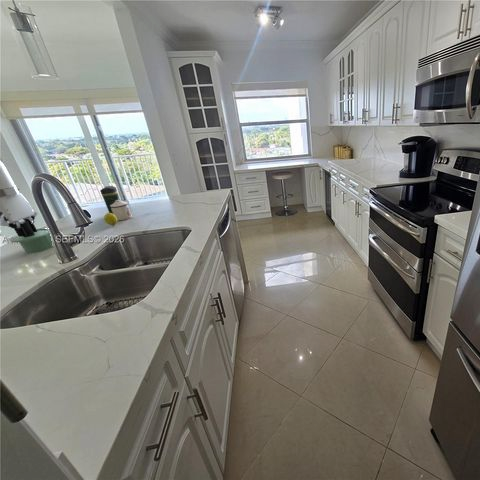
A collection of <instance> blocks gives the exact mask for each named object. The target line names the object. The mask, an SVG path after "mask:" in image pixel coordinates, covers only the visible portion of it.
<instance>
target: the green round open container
mask: <svg viewBox="0 0 480 480" xmlns="http://www.w3.org/2000/svg"><path fill="white" fill-rule="evenodd" d="M36 229H37V231H40V230H46V231H48V229H49V228H48V229H47V228H46V227H43V228H36ZM16 236H18V235H17V234H16ZM18 243H19V245H20V246H21V248H22V249H23V251H24V253H26V254H34V253H35V254H36V253H39V252H44V251H46V250H50V249H52V248H54V247H53V246H52V241H51V236H50V233H49V231H48V234H46V235H44V236H42V237H40V238H38V239H34V240H31V241H25V242H18Z"/></svg>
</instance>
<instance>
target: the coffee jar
mask: <svg viewBox="0 0 480 480" xmlns="http://www.w3.org/2000/svg"><path fill="white" fill-rule="evenodd" d="M99 192H100V194H101V196H102V198H103V201H104V203H105V206H106V209H107V211H108V213H112V214H113V211H112V209H111V208H110V205H112V204H113V203H114V202H115V200H119V201H122V199H121V197H120V195H119V192H118V189H117V187H116V186H113V185H105V186H104V187H103V188H101V189H100V191H99Z"/></svg>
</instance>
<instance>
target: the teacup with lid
mask: <svg viewBox="0 0 480 480" xmlns="http://www.w3.org/2000/svg"><path fill="white" fill-rule="evenodd" d="M110 208H111V209H112V211H113V214H114V215H115V216H116V218H117V221H125V220H129V219H131V218H132V217H133V214H132V212H131V208H130V206H129V203H128V201H122V200H121V201H119V200H115V202H114V203H113V204H112V205H110Z"/></svg>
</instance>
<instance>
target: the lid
mask: <svg viewBox="0 0 480 480" xmlns="http://www.w3.org/2000/svg"><path fill="white" fill-rule="evenodd" d="M19 224H20V226H21V227H23V228H24V230H25V232H26V234H27V236H23V237H19V236H17V235H15V236H13V237H11V238H10V239H9V241H10V243H19V242H25V241H31V240H34V239H38V238H40V237H42V236H44V235H46V234H48V231H46V230H40V231H38V232H34V231H33V229H32V228H31V226H30V224H29V222H28V221H24V220H22V221H19Z"/></svg>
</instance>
